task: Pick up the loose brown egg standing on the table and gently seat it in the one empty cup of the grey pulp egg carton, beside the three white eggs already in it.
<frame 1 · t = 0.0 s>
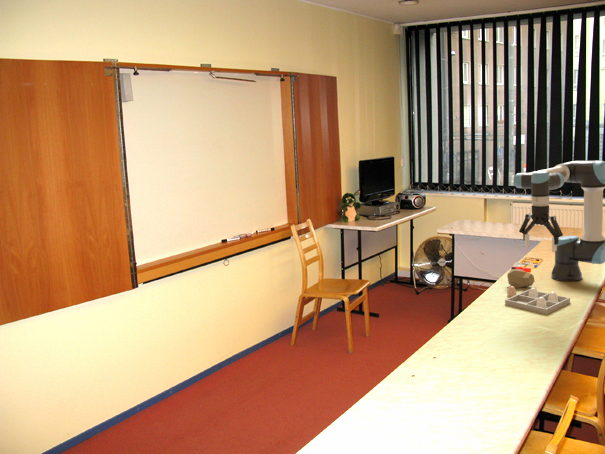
hand: (540, 249, 247), 28 cm above the table, fingers open, 13 cm apart
white egg 2: (553, 303, 253), point 1 cm above the table, touching carton
carton: (537, 304, 254), on the table
white egg 3: (541, 308, 247), point 1 cm above the table, touching carton
white egg 1: (533, 298, 261), point 1 cm above the table, touching carton
brown egg: (511, 296, 268), on the table
low-poly potato: (520, 287, 281), on the table
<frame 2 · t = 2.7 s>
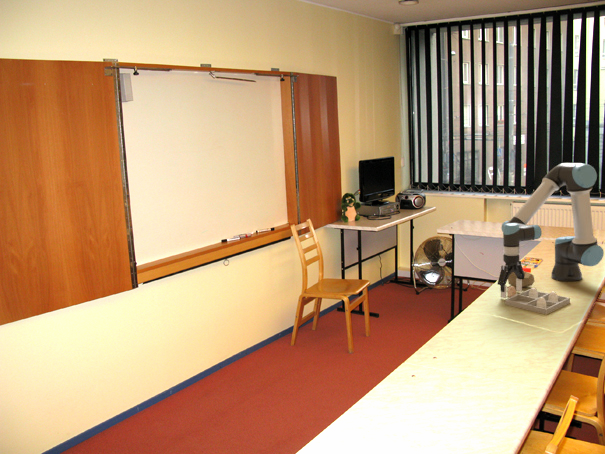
hand: (511, 294, 268), 1 cm above the table, fingers open, 13 cm apart
nothing on the table moved.
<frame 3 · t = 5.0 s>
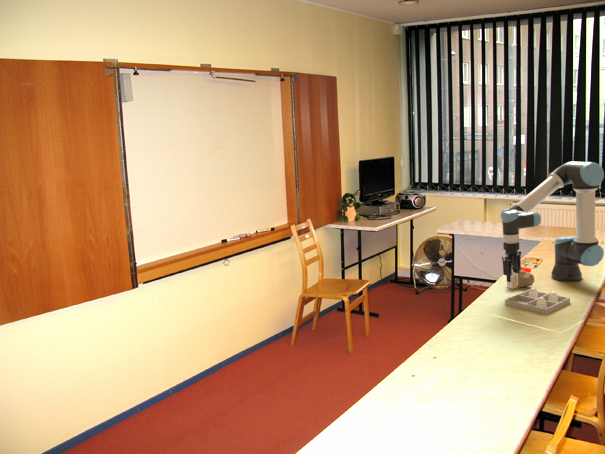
hand: (512, 286, 267), 6 cm above the table, fingers closed on brown egg, 4 cm apart
brown egg: (512, 287, 268), point 5 cm above the table, touching gripper
everything else where it was.
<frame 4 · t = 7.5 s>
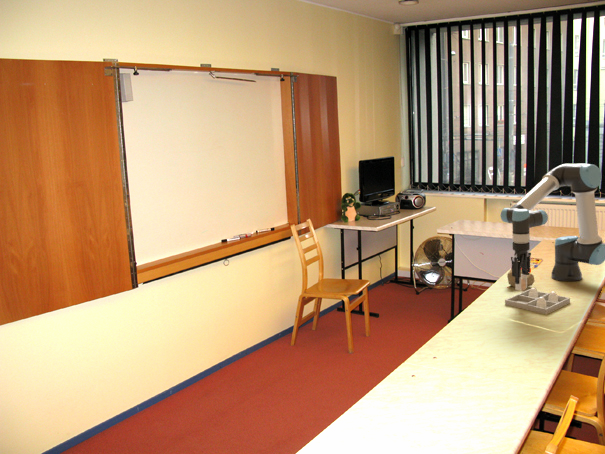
hand: (521, 288, 254), 8 cm above the table, fingers closed on brown egg, 4 cm apart
brown egg: (521, 289, 254), point 8 cm above the table, touching gripper
everything else where it was.
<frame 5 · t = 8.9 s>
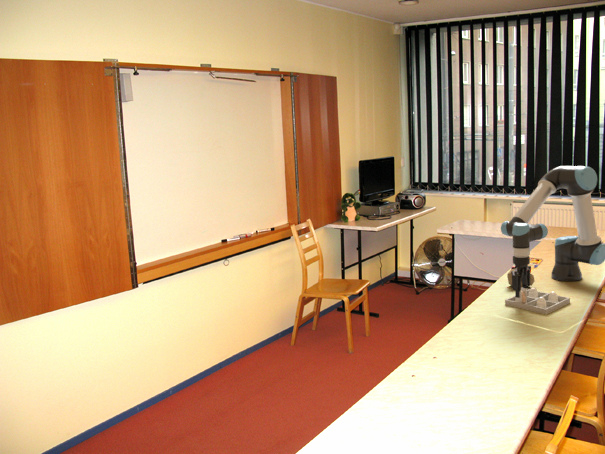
hand: (521, 302, 255), 2 cm above the table, fingers closed on brown egg, 4 cm apart
brown egg: (521, 302, 255), point 1 cm above the table, touching gripper
everything else where it was.
when the fingers open (1 cm above the table, at t = 10.0 s): brown egg stays where it is, resting on carton.
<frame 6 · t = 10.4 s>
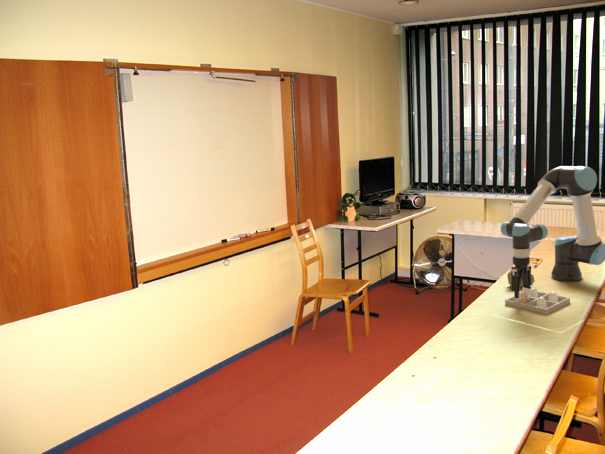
hand: (521, 302, 255), 1 cm above the table, fingers open, 6 cm apart
brown egg: (521, 303, 255), point 1 cm above the table, touching carton
everything else where it was.
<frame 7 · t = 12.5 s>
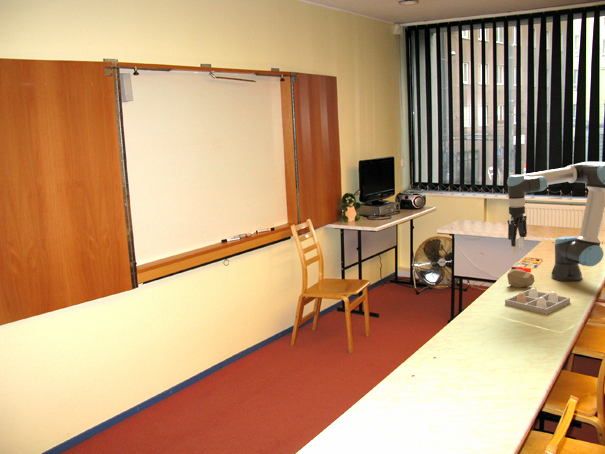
hand: (518, 250, 266), 23 cm above the table, fingers open, 6 cm apart
nothing on the table moved.
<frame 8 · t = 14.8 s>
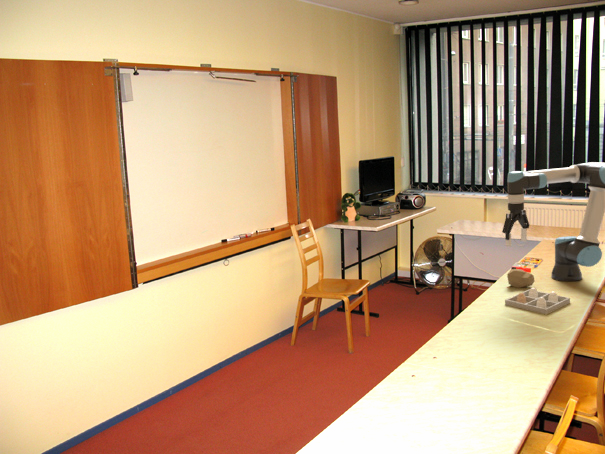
hand: (516, 243, 268), 27 cm above the table, fingers open, 13 cm apart
nothing on the table moved.
at the end: brown egg inside the target area on the carton (0.2 cm from its centre), point 0.6 cm above the carton's base; the gripper is holding nothing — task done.
